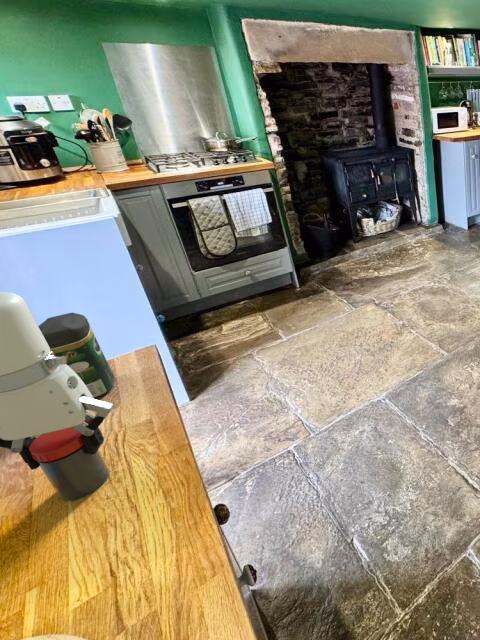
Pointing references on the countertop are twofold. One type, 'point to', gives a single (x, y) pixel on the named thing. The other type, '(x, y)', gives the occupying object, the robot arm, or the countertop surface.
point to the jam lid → (55, 444)
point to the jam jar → (76, 473)
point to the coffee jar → (79, 350)
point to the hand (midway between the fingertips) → (68, 454)
